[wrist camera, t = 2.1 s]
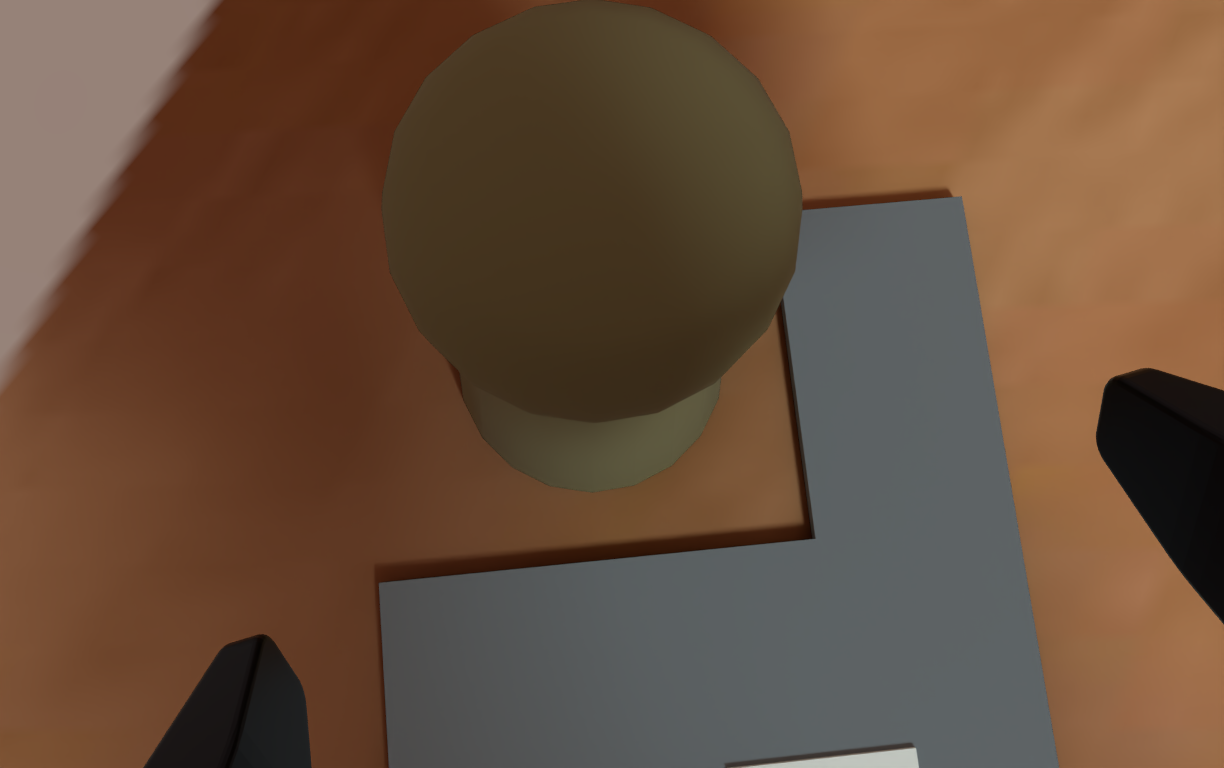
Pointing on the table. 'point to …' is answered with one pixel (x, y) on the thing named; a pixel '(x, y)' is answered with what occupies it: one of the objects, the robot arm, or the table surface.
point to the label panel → (778, 570)
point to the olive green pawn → (591, 233)
